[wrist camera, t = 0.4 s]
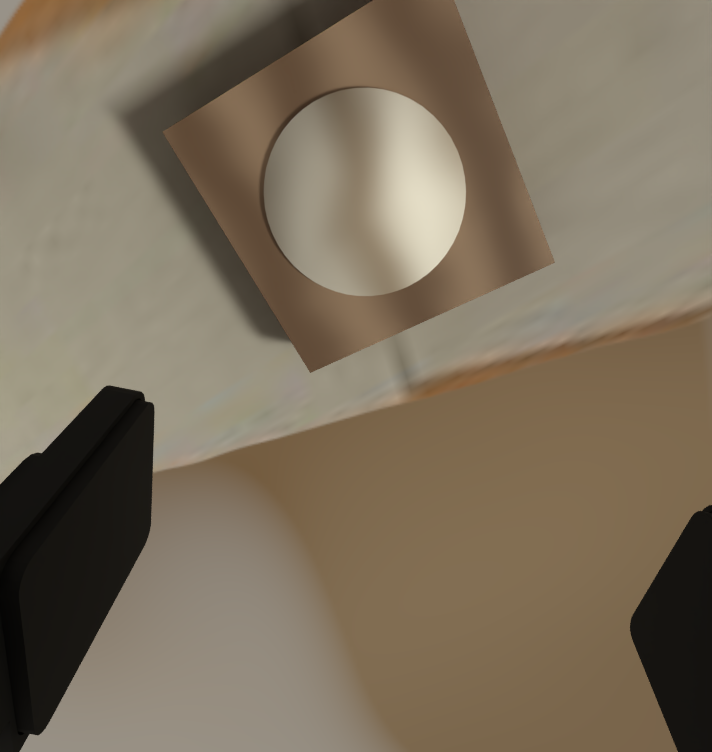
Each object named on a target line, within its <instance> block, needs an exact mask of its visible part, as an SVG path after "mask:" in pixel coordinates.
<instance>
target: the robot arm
mask: <svg viewBox="0 0 712 752" xmlns="http://www.w3.org/2000/svg"><path fill="white" fill-rule="evenodd" d="M153 440H154V405H153V403H151V402H146V401H145V397H144V394H143V393H142V392H140V391H135V390H130V389H125V388H119V387H114V386H106V387H104V388H103V389H102V390H101V391H100V392H99V393H98V394H97V395H96V396H95V397H94V398H93V400H92V401H91V402H90V403H89V404H88V405H87V406H86V407H85V408H84V409H83V410H82V411H81V412H80V413H79V414H78V416H77V417H76V418H75V419H74V420H73V421H72V422H71V423H70V424H69V425H68V426H67V427H66V428H65V429H64V430H63V431H62V433H61V434H60V435H59V436H58V437H57V438H56V439H55V440H54V441H53V442H52V443H51V444H50V445H49V446H48V447H47V449H46V450H45V451H44V452H43V453H35V454H31V455H30V456H29V457H27V458H26V459H25V460H24V461H23V462H22V463H21V464H20V465H19V466H18V467H17V468H16V469H15V470H14V471H13V472H12V473H11V474H10V475H9V476H8V477H7V478H6V479H5V480H4V481H3V482H2V483H1V484H0V752H19V751H20V750H21V748H22V746H23V744H24V742H25V741H26V739H27V737H28V735H29V734H34V735H39V734H41V733H42V732H43V730H44V729H45V728H46V726H47V725H48V723H49V721H50V719H51V718H52V716H53V714H54V712H55V710H56V708H57V707H58V705H59V703H60V701H61V699H62V697H63V695H64V694H65V692H66V690H67V687H68V686H69V684H70V683H71V681H72V679H73V677H74V675H75V673H76V671H77V670H78V668H79V665H80V664H81V662H82V660H83V658H84V656H85V655H86V653H87V651H88V649H89V647H90V646H91V644H92V642H93V640H94V638H95V636H96V634H97V632H98V631H99V629H100V627H101V625H102V623H103V621H104V619H105V618H106V616H107V614H108V612H109V610H110V608H111V607H112V605H113V603H114V601H115V599H116V597H117V596H118V593H119V592H120V590H121V588H122V586H123V584H124V583H125V581H126V579H127V577H128V575H129V573H130V571H131V570H132V568H133V566H134V564H135V562H136V560H137V558H138V557H139V555H140V553H141V551H142V549H143V547H144V546H145V543H146V541H147V538H148V535H149V531H150V526H151V504H152V472H153ZM630 631H631V636H632V639H633V642H634V645H635V647H636V650H637V652H638V655H639V657H640V659H641V662H642V664H643V667H644V669H645V672H646V674H647V677H648V679H649V682H650V684H651V687H652V689H653V691H654V694H655V696H656V698H657V701H658V704H659V706H660V708H661V711H662V714H663V716H664V718H665V721H666V723H667V726H668V728H669V731H670V733H671V736H672V738H673V741H674V743H675V745H676V747H677V750H678V752H712V505H709V506H708V507H706V508H704V510H703V511H698V512H696V513H695V514H694V515H693V516H692V517H691V519H690V520H689V522H688V524H687V525H686V527H685V529H684V530H683V532H682V534H681V535H680V537H679V539H678V540H677V542H676V544H675V546H674V547H673V549H672V550H671V552H670V554H669V555H668V557H667V559H666V561H665V562H664V564H663V566H662V567H661V569H660V570H659V572H658V574H657V576H656V577H655V579H654V580H653V582H652V584H651V586H650V587H649V589H648V590H647V592H646V594H645V595H644V597H643V599H642V600H641V602H640V604H639V606H638V607H637V609H636V611H635V612H634V614H633V616H632V618H631V623H630Z"/></svg>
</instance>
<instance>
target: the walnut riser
mask: <svg viewBox="0 0 712 752" xmlns="http://www.w3.org/2000/svg"><path fill="white" fill-rule="evenodd" d="M163 134H164V135H165V137H166V139H167V140H168V142H169V144H170V145H171V147H172V149H173V150H174V152H175V153H176V155H177V157H178V158H179V160H180V162H181V163H182V165H183V166H184V168H185V170H186V171H187V173H188V175H189V176H190V178H191V179H192V181H193V183H194V184H195V186H196V188H197V189H198V191H199V192H200V194H201V196H202V197H203V199H204V201H205V202H206V204H207V205H208V207H209V209H210V210H211V212H212V214H213V215H214V217H215V218H216V220H217V222H218V223H219V225H220V227H221V228H222V230H223V231H224V233H225V235H226V236H227V238H228V240H229V241H230V243H231V244H232V246H233V248H234V249H235V251H236V253H237V254H238V256H239V257H240V259H241V261H242V262H243V264H244V266H245V267H246V269H247V270H248V272H249V274H250V275H251V277H252V279H253V280H254V282H255V283H256V285H257V287H258V288H259V290H260V292H261V293H262V295H263V297H264V298H265V300H266V301H267V303H268V305H269V306H270V308H271V310H272V311H273V313H274V314H275V316H276V318H277V319H278V321H279V323H280V324H281V326H282V327H283V329H284V331H285V332H286V334H287V336H288V337H289V339H290V340H291V342H292V344H293V345H294V347H295V349H296V350H297V352H298V353H299V355H300V357H301V358H302V360H303V362H304V363H305V365H306V366H307V368H308V370H309V371H310V373H311V372H313V371H315V370H317V369H320V368H322V367H324V366H326V365H329V364H331V363H333V362H335V361H337V360H340V359H342V358H344V357H346V356H349V355H351V354H353V353H355V352H357V351H360V350H362V349H364V348H366V347H369V346H371V345H373V344H375V343H377V342H380V341H382V340H384V339H386V338H388V337H391V336H393V335H395V334H397V333H400V332H402V331H404V330H406V329H408V328H411V327H413V326H415V325H417V324H420V323H422V322H424V321H426V320H428V319H431V318H433V317H435V316H437V315H440V314H442V313H444V312H446V311H448V310H451V309H453V308H455V307H457V306H459V305H462V304H464V303H466V302H468V301H471V300H473V299H475V298H477V297H479V296H482V295H484V294H486V293H488V292H491V291H493V290H495V289H497V288H499V287H502V286H504V285H506V284H508V283H511V282H513V281H515V280H517V279H519V278H522V277H524V276H526V275H528V274H530V273H533V272H535V271H537V270H539V269H542V268H544V267H546V266H548V265H550V264H553V263H555V262H554V259H553V256H552V254H551V251H550V249H549V246H548V243H547V241H546V238H545V236H544V233H543V231H542V228H541V225H540V223H539V220H538V218H537V215H536V212H535V210H534V207H533V205H532V202H531V199H530V197H529V194H528V192H527V189H526V186H525V184H524V181H523V179H522V176H521V173H520V171H519V168H518V166H517V163H516V160H515V158H514V155H513V153H512V150H511V147H510V145H509V142H508V140H507V137H506V134H505V132H504V129H503V127H502V124H501V121H500V119H499V116H498V114H497V111H496V108H495V106H494V103H493V101H492V98H491V95H490V93H489V90H488V88H487V85H486V82H485V80H484V77H483V75H482V72H481V69H480V67H479V64H478V62H477V59H476V56H475V54H474V51H473V49H472V46H471V43H470V41H469V38H468V36H467V33H466V30H465V28H464V25H463V23H462V20H461V17H460V15H459V12H458V10H457V7H456V4H455V2H454V0H372V1H371V2H369V3H368V4H366V5H364V6H363V7H361V8H360V9H358V10H356V11H355V12H353V13H352V14H350V15H348V16H347V17H345V18H344V19H342V20H341V21H339V22H337V23H336V24H334V25H333V26H331V27H329V28H328V29H326V30H325V31H323V32H321V33H320V34H318V35H317V36H315V37H313V38H312V39H310V40H309V41H307V42H305V43H304V44H302V45H301V46H299V47H297V48H296V49H294V50H293V51H291V52H289V53H288V54H286V55H285V56H283V57H281V58H280V59H278V60H277V61H275V62H273V63H272V64H270V65H269V66H267V67H265V68H264V69H262V70H261V71H259V72H257V73H256V74H254V75H253V76H251V77H249V78H248V79H246V80H245V81H243V82H241V83H240V84H238V85H237V86H235V87H233V88H232V89H230V90H229V91H227V92H225V93H224V94H222V95H221V96H219V97H217V98H216V99H214V100H213V101H211V102H209V103H208V104H206V105H205V106H203V107H201V108H200V109H198V110H197V111H195V112H193V113H192V114H190V115H189V116H187V117H185V118H184V119H182V120H181V121H179V122H177V123H176V124H174V125H173V126H171V127H169V128H168V129H166V130H165V131H163Z"/></svg>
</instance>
